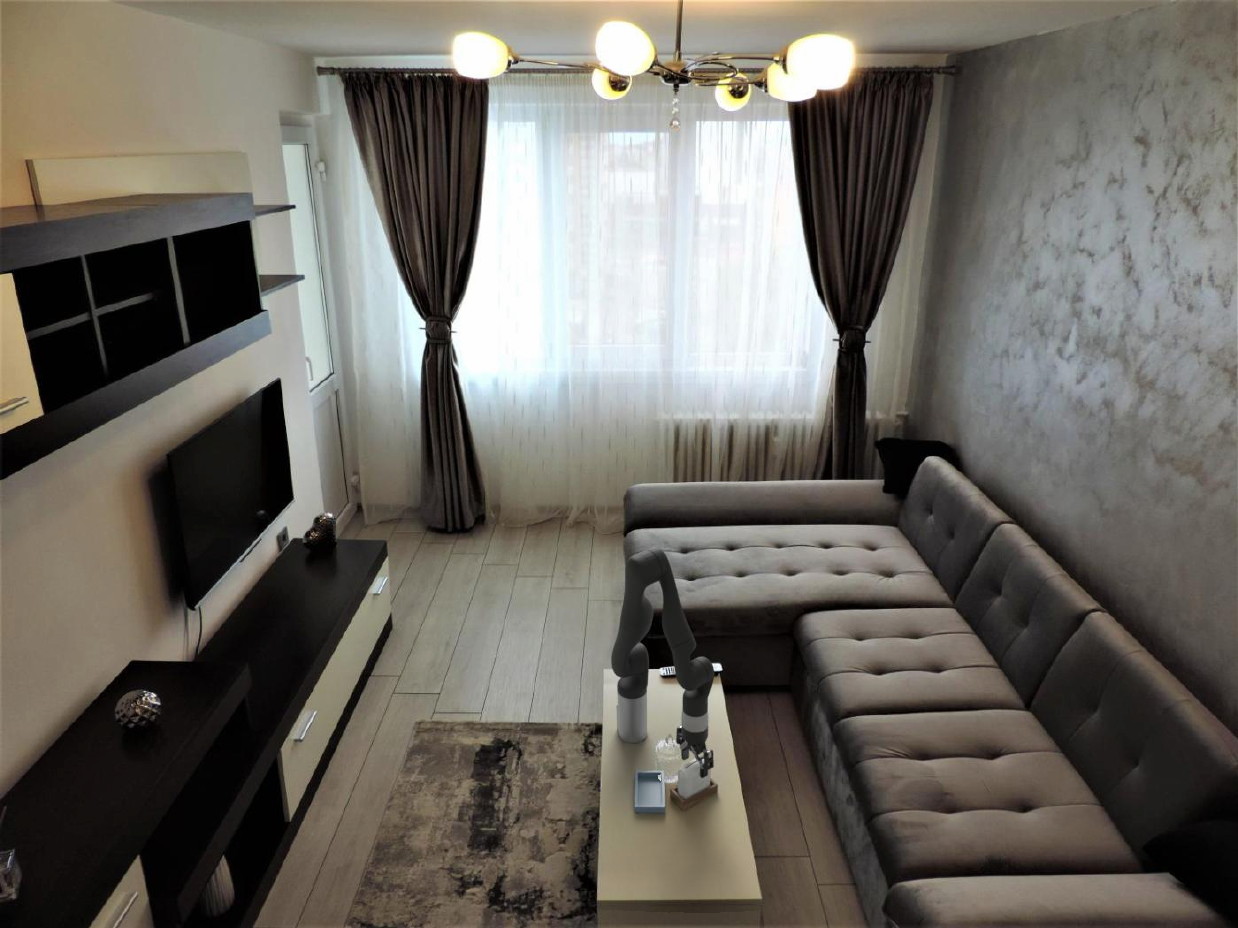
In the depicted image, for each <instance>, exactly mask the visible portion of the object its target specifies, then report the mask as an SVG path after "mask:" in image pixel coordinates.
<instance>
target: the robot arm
mask: <svg viewBox="0 0 1238 928" xmlns="http://www.w3.org/2000/svg"><path fill="white" fill-rule="evenodd" d="M624 572H625V574H624V576H625V577H624V593H623V594H624V595H623V602H622V607H621V609H620V610H621V611H620V617H619V625H618V631H617V635H616V638H615V642H614V644H613V648H612V652H611V656H610V657H611V658H610V660H611V662H610V663H611V668H612V669H611V670H612V671H613V673H614V674H615V676H616V677H618V678H619V679H618V681H617V684H616V685H617V686H616V689H617V690H616V691H617V693H616V694H617V705H616V729H617V733H618V737H619V739H621V740H622V741H624V742H626V743H628V744H637V743H640V742H642V741H644V740H645V739H646V738H647V736H648V686H649V675H650V674H649V670H650V659H649V657H650V656H649V652H648V650H647V649H648V648H647V647H646V646H645V644H643V643H641V641H642V640H643V639H644V638H645V637H646V636H647V635H648V633H649V632H650V629H651V627H652V621H653V618H654V608H653V605H652V603H651V601H650V600H649V599H648V598H647V596H645V595H644V594H645V591H646V588H648V587H649V586H651V585H653V584H655V583H657V582H659V585H660V587H661V592H662V598H663V599H662V611H661V613H662V614H661V616H662V617H661V625H662V629H663V631H662V632H663V634H664V636H665V638H666V641H667V644H668V645H669V649H670V651H671V655H672V660H673V666H674V667H673V668H674V673H675V677H676V681H677V682H678V684H679V686H680V687H681V688H682V689H684V691H683V693H682V700H681V701H682V710H681V716H680V717H681V722H680V723H681V725H680V726H677V727H676V734H675V735H676V736H675V737H676V739H675V740H676V741H675V742H676V744H677V745H679V748H680V753H681V755H680V756H681V760H682V761H683V762H684V761H686V760H688V759H689V758H690V752H691V753H692V754H693V755H694V759H696V761H698V762H699V764H700V777H701V778H704V777H706V776H707V775H708V770H709V769H711V770H712V769H713V768H714V766H715V765H714V764H715V763H714V762H715V761H714V750H713V749H708V748H707V745H706V744H707V743H706V741H707V740H708V737H709V717H710V716H709V711H708V710H709V696H710V694H711V690H712V688H713V683H714V678H715V669H714V666H713V663H712V661H711V660H710V659H709V658H708V657H705V656H698V657H696V658H695V657H694V659H692V660H691V657H690V656H691V654H692V653H693V651H695V649H696V648H697V642H696V639H695V638H694V635H693V632H692V630H691V628H690V626H689V623H688V620H687V618H686V616H685V613H684V609H683V607H682V603H681V600H680V599H681V598H680V596H679V595H680V594H679V592H678V588H677V584H676V580H675V577H674V573H673V569H672V567H671V564H670V560H669V559H668V556H667V554H666V553H665V551H664V550H662V549H661V548H660V547H657V546H652V547H649V548H647V549H645V550H642V551H640V552H638V553H635V554H634V555H632V556H630V557H629V558H628V560H627V561H626V564H625V571H624ZM702 753H703V754H702ZM701 754H702V755H701ZM700 755H701V756H700ZM702 759H704V763H702ZM709 763H710V764H709Z"/></svg>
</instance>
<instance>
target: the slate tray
mask: <svg viewBox="0 0 1238 928" xmlns="http://www.w3.org/2000/svg"><path fill="white" fill-rule="evenodd" d="M660 774H661V781H660V780H659V779H658V775H660ZM665 791H666V790H665V771H664V770H635V771H634V814H664V815H665V814H666V793H665Z"/></svg>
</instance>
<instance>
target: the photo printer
mask: <svg viewBox="0 0 1238 928" xmlns="http://www.w3.org/2000/svg"><path fill="white" fill-rule="evenodd" d="M702 763H704V759H702ZM709 764H710V763H709ZM711 770H712V768H711V769H709V770H708V775H707V776H706V777H704V778H701V777H700V764H699V762H698V761H696V758H693V759H692V760H690V761H688V762H687V763H685V764H684V765H682V766H681V767H680V768H679V769H678V771H677V785H678V795H679V796H680V797H681V798H682V799H683V800H684V801H685V800H687V799H688V798H690V797H692V796H694V795H696V794H698V793H699V792H701V791H703V790H705V789H707V788H709V787H710V778H711V772H712V771H711Z"/></svg>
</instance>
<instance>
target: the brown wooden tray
mask: <svg viewBox="0 0 1238 928" xmlns="http://www.w3.org/2000/svg"><path fill="white" fill-rule="evenodd" d="M718 788H719V785H718V783H716V781H715V780H713V779H712V777H710V787H709V788H707V789H705V790H703V791H701V792H699V793H698V794H696V795H694V796H692V797H690V798H688V799H687V800H685V801H684V800H683V799H682V798H681V797H680V796H679V795H678V784H677V785H675V786H673V787H671V788H670V789H669V797H670V798H671V799H672V800H673V802H675V804H676V805H677V806H678V807H680V809H681V810H682V811H683V812H685V811H686V810H689V809H690V808H692V807H694V806H696V805H698V804H700V803H701V802H704V801H705V800H707V799H708V798H711V797H712V796H714V795H716V794H718V791H719V789H718Z"/></svg>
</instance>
